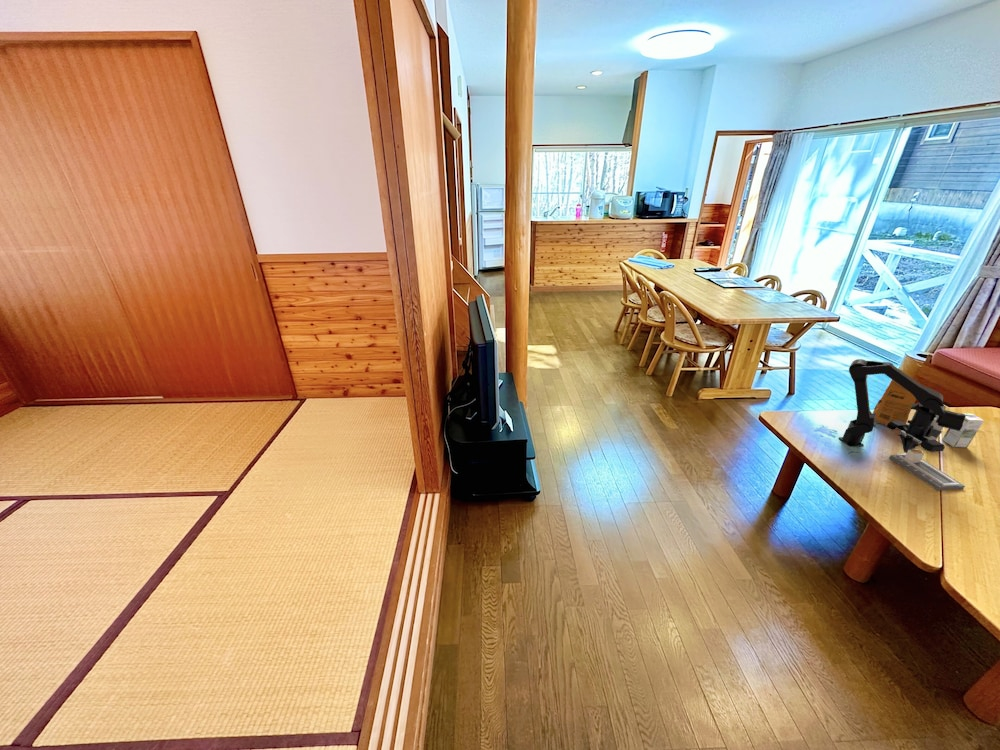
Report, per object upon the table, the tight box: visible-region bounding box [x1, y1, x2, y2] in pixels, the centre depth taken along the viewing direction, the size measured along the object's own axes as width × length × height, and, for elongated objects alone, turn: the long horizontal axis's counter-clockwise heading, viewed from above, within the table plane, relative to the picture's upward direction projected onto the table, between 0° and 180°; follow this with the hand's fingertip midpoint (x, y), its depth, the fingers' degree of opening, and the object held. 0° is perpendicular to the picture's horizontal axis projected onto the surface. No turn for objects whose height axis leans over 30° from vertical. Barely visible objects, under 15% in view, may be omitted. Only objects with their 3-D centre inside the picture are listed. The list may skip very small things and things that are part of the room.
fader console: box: [888, 452, 966, 491], centre depth 159 cm, size 10×20×2 cm, turn 2°
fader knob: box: [904, 448, 925, 463], centre depth 163 cm, size 4×3×5 cm
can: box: [925, 415, 944, 441], centre depth 178 cm, size 8×8×12 cm
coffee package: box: [872, 379, 917, 426], centre depth 188 cm, size 10×12×22 cm
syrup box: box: [942, 413, 985, 448], centre depth 173 cm, size 6×6×14 cm
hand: (906, 452), depth 167 cm, fingers closed
